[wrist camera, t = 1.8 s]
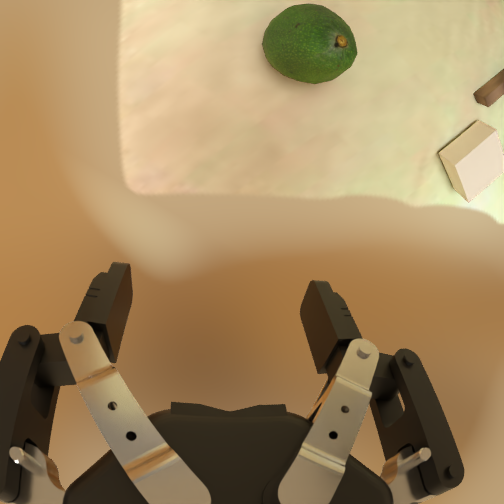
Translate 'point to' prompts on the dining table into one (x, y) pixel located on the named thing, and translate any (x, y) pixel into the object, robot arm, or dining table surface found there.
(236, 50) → the dining table surface
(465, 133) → the white rectangular block
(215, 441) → the robot arm
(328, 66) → the avocado
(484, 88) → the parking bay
